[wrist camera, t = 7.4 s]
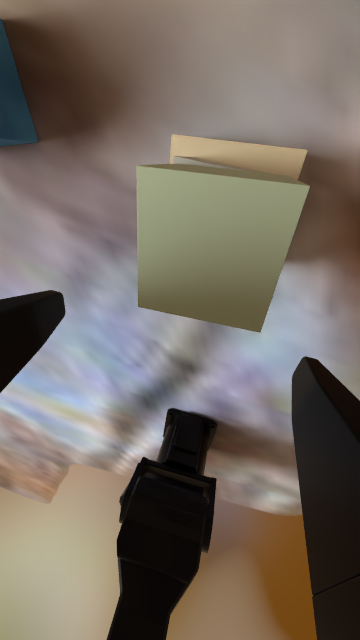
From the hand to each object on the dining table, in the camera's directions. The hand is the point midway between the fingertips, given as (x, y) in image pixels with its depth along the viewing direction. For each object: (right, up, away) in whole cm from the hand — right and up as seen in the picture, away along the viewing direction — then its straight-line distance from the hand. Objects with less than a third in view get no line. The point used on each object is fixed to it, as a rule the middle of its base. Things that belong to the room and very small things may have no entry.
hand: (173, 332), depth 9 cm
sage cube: (+2, +5, +2) cm, 6 cm away
